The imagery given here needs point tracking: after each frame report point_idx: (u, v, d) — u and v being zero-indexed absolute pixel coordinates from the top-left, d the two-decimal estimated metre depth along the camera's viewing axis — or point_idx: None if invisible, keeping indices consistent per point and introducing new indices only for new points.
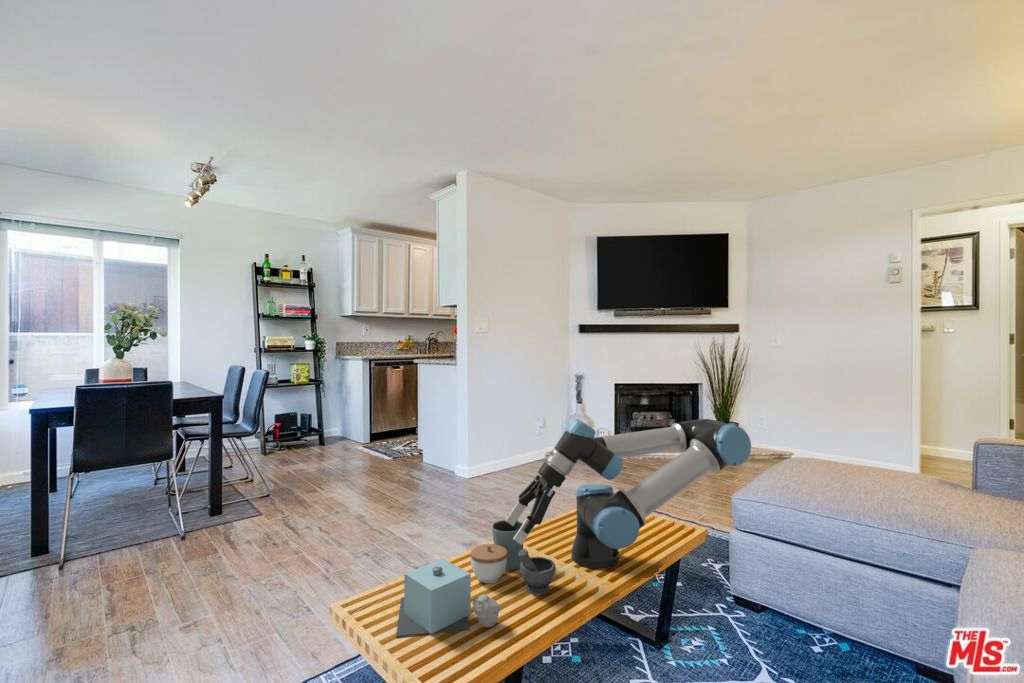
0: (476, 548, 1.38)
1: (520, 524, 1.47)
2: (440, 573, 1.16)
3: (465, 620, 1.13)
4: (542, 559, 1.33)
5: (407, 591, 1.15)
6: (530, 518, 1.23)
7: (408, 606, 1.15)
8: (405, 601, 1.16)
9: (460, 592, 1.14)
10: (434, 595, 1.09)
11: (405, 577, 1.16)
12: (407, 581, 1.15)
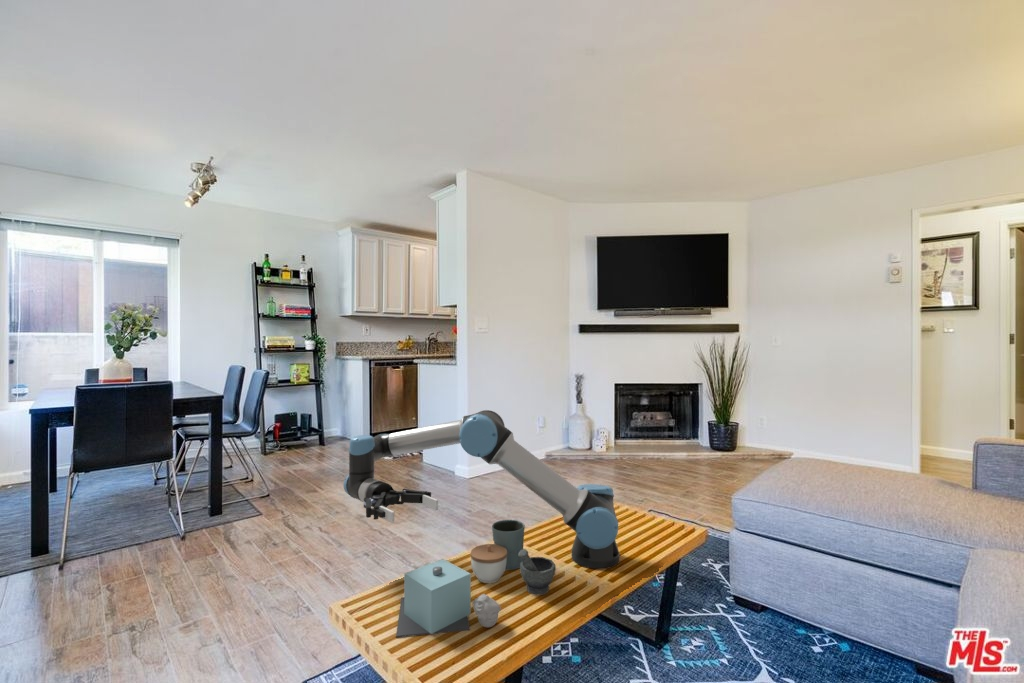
0: (476, 548, 1.38)
1: (520, 524, 1.47)
2: (440, 573, 1.16)
3: (465, 620, 1.13)
4: (542, 559, 1.33)
5: (407, 591, 1.15)
6: (374, 516, 1.23)
7: (408, 606, 1.15)
8: (405, 601, 1.16)
9: (460, 592, 1.14)
10: (434, 595, 1.09)
11: (405, 577, 1.16)
12: (407, 581, 1.15)
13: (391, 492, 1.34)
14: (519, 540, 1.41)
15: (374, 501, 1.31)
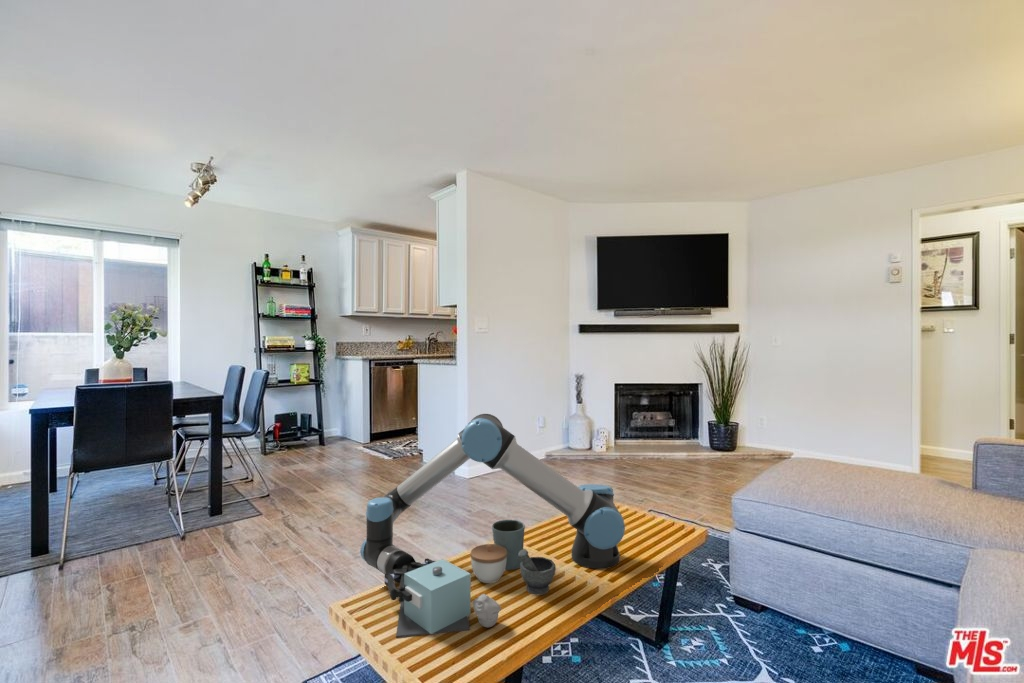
0: (476, 548, 1.38)
1: (520, 524, 1.47)
2: (440, 573, 1.15)
3: (465, 620, 1.13)
4: (542, 559, 1.33)
5: None
6: (399, 598, 1.14)
7: (408, 606, 1.15)
8: (405, 601, 1.16)
9: (460, 592, 1.14)
10: (434, 595, 1.08)
11: (404, 577, 1.16)
12: (407, 581, 1.15)
13: (413, 565, 1.26)
14: (519, 540, 1.41)
15: (395, 576, 1.23)
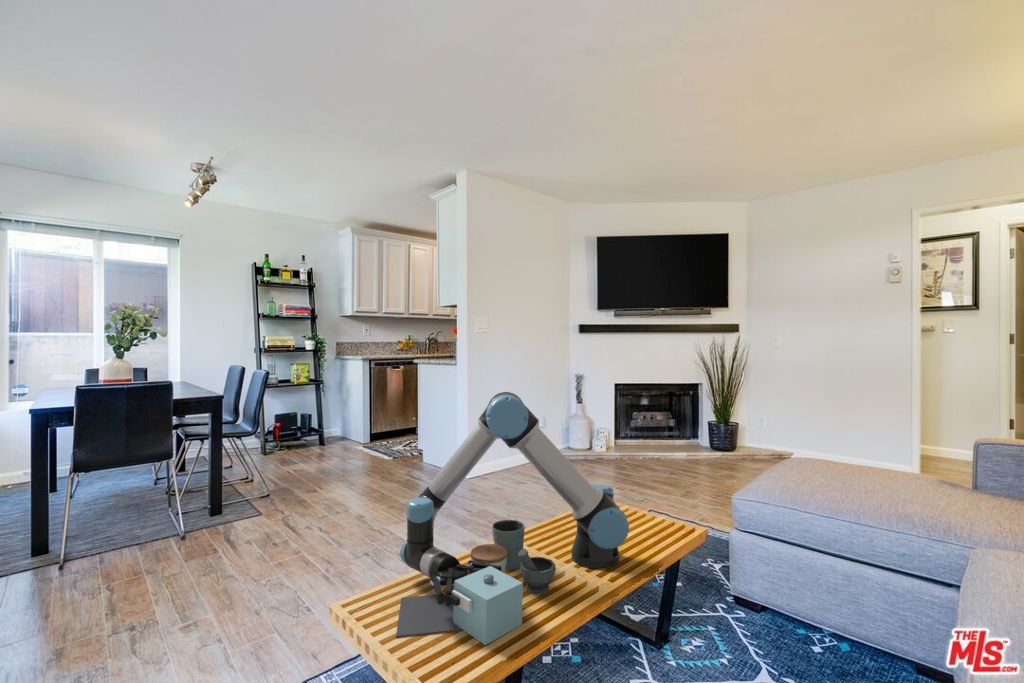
0: (476, 548, 1.38)
1: (520, 524, 1.47)
2: (492, 581, 1.12)
3: None
4: (542, 559, 1.33)
5: None
6: (446, 602, 1.10)
7: (458, 615, 1.11)
8: (454, 609, 1.12)
9: (513, 602, 1.10)
10: (489, 605, 1.05)
11: (454, 585, 1.12)
12: (457, 589, 1.11)
13: (458, 567, 1.22)
14: (519, 540, 1.41)
15: (441, 579, 1.19)
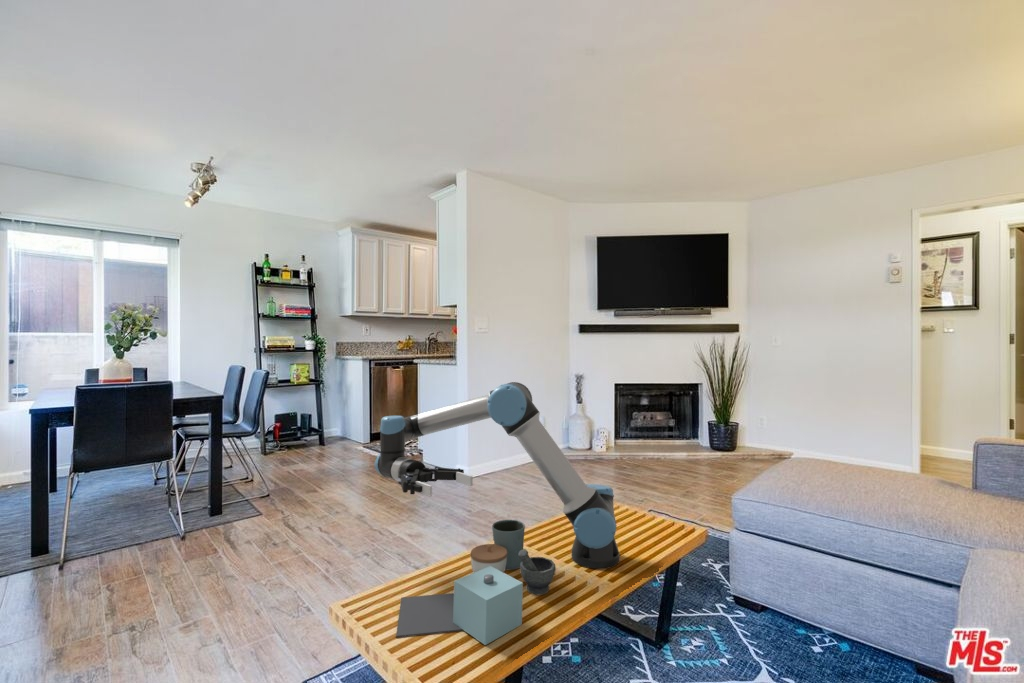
0: (476, 548, 1.38)
1: (520, 524, 1.47)
2: (492, 581, 1.12)
3: None
4: (542, 559, 1.33)
5: (457, 599, 1.11)
6: (410, 491, 1.24)
7: (458, 615, 1.11)
8: (454, 609, 1.12)
9: (513, 602, 1.10)
10: (489, 605, 1.05)
11: (454, 585, 1.12)
12: (457, 589, 1.11)
13: (424, 469, 1.36)
14: (519, 540, 1.41)
15: (408, 478, 1.33)
